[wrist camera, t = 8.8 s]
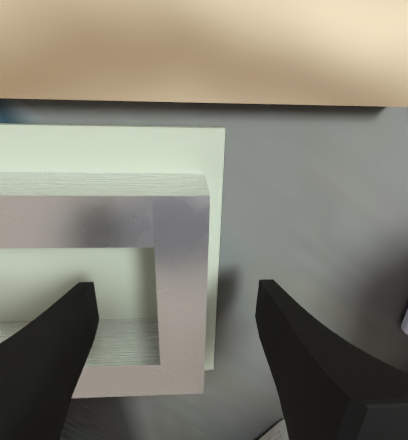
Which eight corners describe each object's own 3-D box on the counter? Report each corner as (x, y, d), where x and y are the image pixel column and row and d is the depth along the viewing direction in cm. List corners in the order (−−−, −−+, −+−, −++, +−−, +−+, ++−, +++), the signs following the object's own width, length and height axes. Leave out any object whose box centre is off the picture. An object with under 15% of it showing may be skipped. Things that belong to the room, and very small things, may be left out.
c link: (200, 344, 17) (203, 393, 14) (-18, 350, 16) (-60, 403, 14) (204, 173, 13) (210, 195, 10) (-86, 171, 12) (-163, 195, 10)
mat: (212, 364, 18) (213, 370, 18) (-26, 371, 17) (-30, 377, 17) (224, 126, 13) (225, 128, 12) (-127, 121, 12) (-137, 122, 11)
